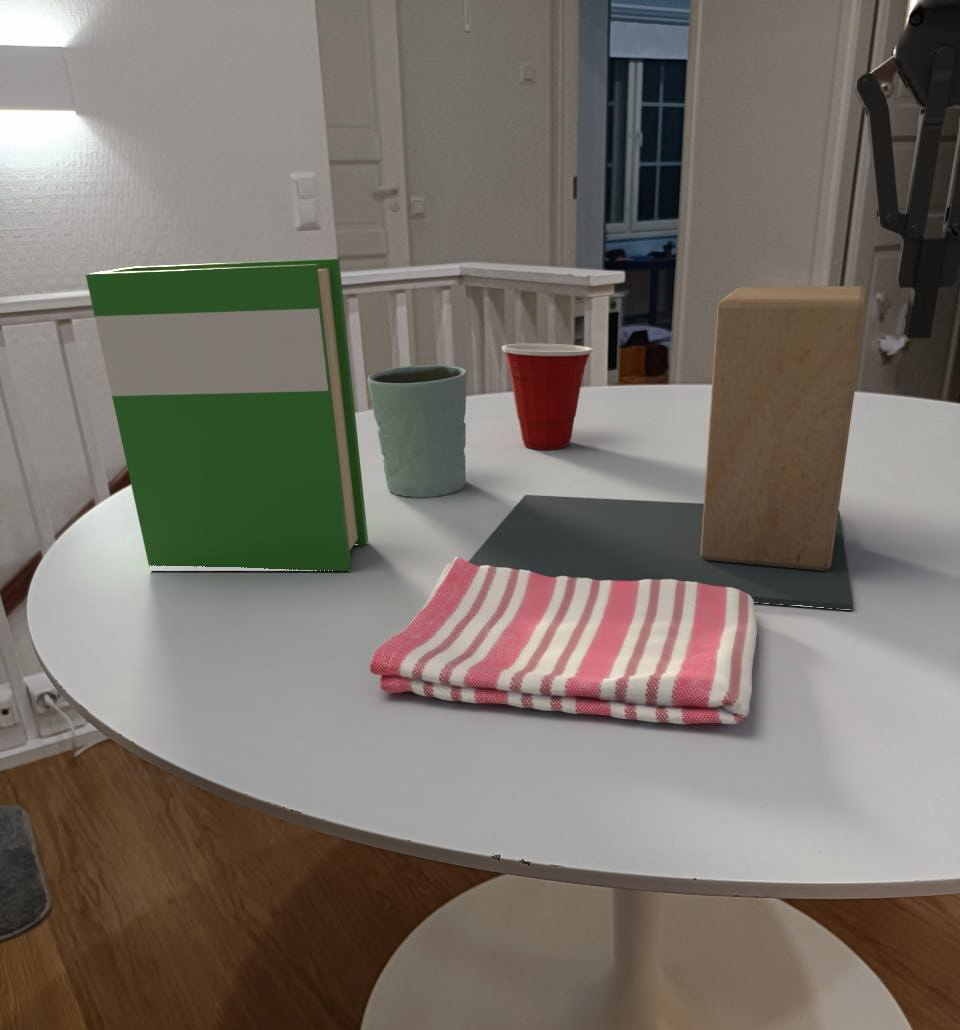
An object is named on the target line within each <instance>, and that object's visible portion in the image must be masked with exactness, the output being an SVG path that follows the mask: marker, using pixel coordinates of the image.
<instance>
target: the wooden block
mask: <svg viewBox="0 0 960 1030" xmlns="http://www.w3.org/2000/svg"><path fill="white" fill-rule="evenodd" d="M867 302H868V289H867V288H866V287H865V286H863V285H835V286H834V285H833V286H832V285H831V286H829V285H827V286H822V285H821V286H817V285H815V286H814V285H813V286H740V287H738V288H735V289H734V290H733V291H732V292H730V293H728V294H727V296H725V297H724V298H722V299H721V300H720V301H719V303H718V304H717V306H716V321H715V334H714V335H715V336H714V352H713V366H712V378H711V379H712V381H711V391H710V392H711V395H710V406H709V407H710V409H709V424H708V438H707V451H706V452H707V453H706V466H705V469H706V470H705V480H704V481H705V482H704V496H703V504H704V509H703V523H702V538H701V553H700V554H701V557H702V558H703V559H705V560H712V561H723V562H734V563H745V564H756V565H766V566H777V567H788V568H799V569H809V570H820V571H824V570H828V569H829V568H830V566H831V561H832V554H833V546H834V539H835V532H836V524H837V517H838V510H839V511H840V502H841V495H842V489H843V488H842V486H843V481H844V479H843V478H844V473H845V472H844V471H845V465H846V457H847V452H848V451H847V450H848V445H849V444H848V442H849V436H850V430H851V429H850V428H851V420H852V414H853V406H854V399H855V393H856V385H857V377H858V370H859V363H860V362H859V361H860V355H861V347H862V342H863V335H864V334H863V332H864V326H865V318H866V312H867V311H866V310H867Z"/></svg>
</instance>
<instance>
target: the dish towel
mask: <svg viewBox="0 0 960 1030" xmlns="http://www.w3.org/2000/svg"><path fill="white" fill-rule="evenodd" d="M468 561H469V560H466V559H465V558H462V557H459V556H456V557H454V559H453V561H452V562H449V563H447V564H446V565H445V567H444V569H443V571H442V573H441V574H440V576H439V577H438V579H437V582H436V584H435V586H434V588H433V589H432V591H431V593H430V595H429V597H428V598H427V600H426V602H425V603H424V604H423V606H422V608H421V610H419V612H418V613H417V614H416V615H415V616H414V617H413V619H412V620H411V621H410V622H409V623H408V624H407V626H406V627H405V628H403V629H402V631H400V632H399V633H398V634H395V635H392V636H391V637H389V638H388V639H386V640H385V641H384V642H383V643H382V644H381V645H380V646H379V647H378V648H377V649H375V651H374V652H373V654H372V658H371V660H370V661H369V672H370V674H373V675H377V676H381V677H380V679H379V688H380V689H381V691H383V692H384V693H389V694H390V693H391V694H399V693H403V692H413V693H415V694H416V695H419V696H422V697H431V698H436V699H440V700H443V701H449V702H455V701H456V702H463V703H471V704H501V705H508V706H512V707H517V708H523V709H526V708H527V709H534V710H540V711H550V712H553V711H554V712H562V713H569V714H575V715H579V714H583V715H600V716H609V717H612V718H615V719H616V718H617V719H622V720H623V719H624V720H637V721H642V722H650V723H667V724H669V723H670V724H676V725H690V724H691V725H692V724H694V725H695V724H723V725H724V724H725V725H733V724H734V725H735V724H739V723H741V722H743V721H744V720H746V719H747V717H748V716H749V715H750V702H751V699H752V693H753V684H752V682H753V681H752V679H753V674H752V673H753V668H754V667H753V665H754V656H755V651H756V645H757V634H758V627H757V616H756V613H755V612H756V611H755V604H754V600H753V599H752V597H751V596H750V595H749V594H747V593H745V592H743V591H740V590H738V589H735V588H731V587H717V586H711V585H706V584H701V583H698V582H689V581H685V582H683V581H678V580H672V579H663V580H652V579H644V580H639V581H612V580H605V581H603V580H600V581H599V580H593V579H589V578H572V577H567V576H559V577H555V578H554V577H548V576H543V575H539V574H536V573H533V572H531V571H528V570H515V569H510V568H500V567H492V566H489V565H486V566H479V567H478V566H475V565H473V564H470V563H469V562H468Z"/></svg>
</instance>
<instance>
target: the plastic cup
mask: <svg viewBox="0 0 960 1030" xmlns="http://www.w3.org/2000/svg"><path fill="white" fill-rule="evenodd" d="M501 350H502V351H503V352H504V355H505V358H506V364H507V367H508V373H509V374H510V380H511V382H510V383H511V387H512V392H513V399H514V404H515V410H516V416H517V419H518V423H519V429H520V435H521V440H522V443H523V445H524V447H526V448H527V449H533V450H542V451H544V450H545V451H546V450H547V451H548V450H549V451H550V450H557V449H564V448H566V447H568V446H570V444H571V439H572V436H573V430H574V424H575V423H574V422H575V417H576V414H577V409H578V404H579V398H580V393H581V388H582V387H581V386H582V381H583V376H584V373H585V370H586V365H587V363H588V358H589V357H590V355H591V354H592V353H593V351H594V348H593V347H589V346H585V345H577V344H567V343H566V344H565V343H531V342H530V343H510V344H505V345H502V346H501Z"/></svg>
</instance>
